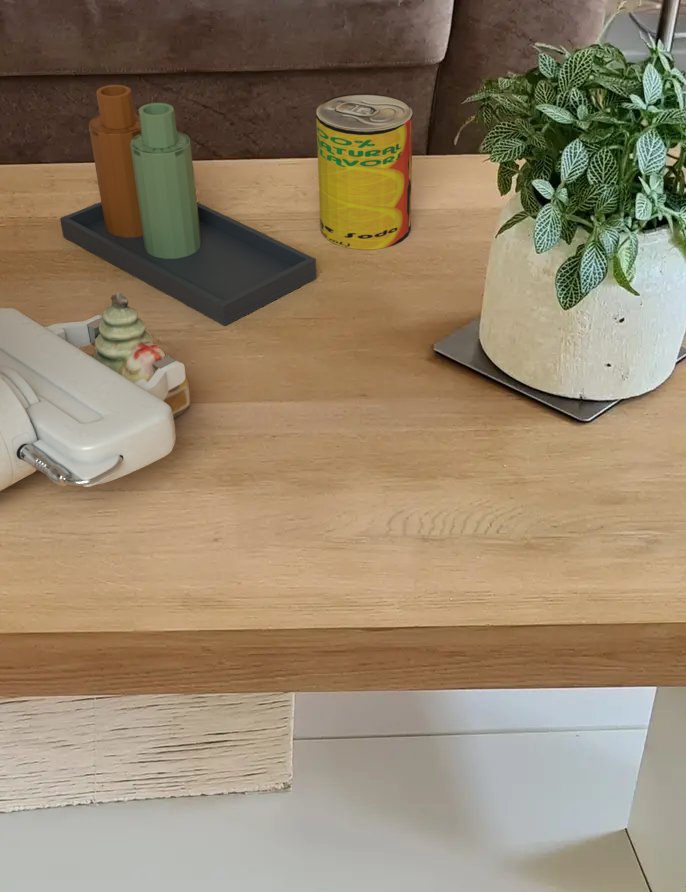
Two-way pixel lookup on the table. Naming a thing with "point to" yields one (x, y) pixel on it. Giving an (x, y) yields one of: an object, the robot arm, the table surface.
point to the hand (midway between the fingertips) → (142, 345)
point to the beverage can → (364, 170)
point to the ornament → (134, 350)
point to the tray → (203, 263)
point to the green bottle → (165, 184)
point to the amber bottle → (116, 159)
